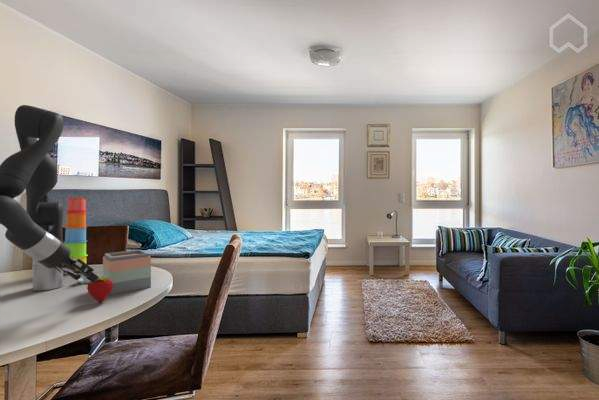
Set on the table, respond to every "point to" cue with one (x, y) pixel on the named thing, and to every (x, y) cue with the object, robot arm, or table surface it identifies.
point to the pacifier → (83, 280)
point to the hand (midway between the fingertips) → (87, 278)
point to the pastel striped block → (127, 270)
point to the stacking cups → (76, 228)
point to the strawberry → (100, 288)
